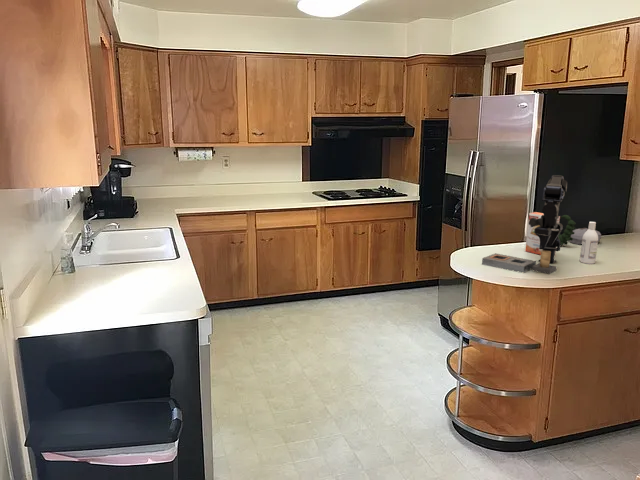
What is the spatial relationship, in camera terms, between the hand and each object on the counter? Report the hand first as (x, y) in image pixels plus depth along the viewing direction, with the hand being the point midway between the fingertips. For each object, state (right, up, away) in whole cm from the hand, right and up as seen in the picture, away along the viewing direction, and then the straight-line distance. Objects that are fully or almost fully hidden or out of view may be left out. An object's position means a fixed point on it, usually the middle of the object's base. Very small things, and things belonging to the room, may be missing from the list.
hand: (546, 247), depth 237 cm
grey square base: (0, -11, +2) cm, 11 cm away
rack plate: (-14, -9, +9) cm, 19 cm away
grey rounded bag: (+49, +1, +64) cm, 81 cm away
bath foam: (+28, -8, +19) cm, 35 cm away
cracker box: (+11, -4, +35) cm, 37 cm away
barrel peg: (0, -9, +2) cm, 9 cm away
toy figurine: (+28, +1, +59) cm, 65 cm away
